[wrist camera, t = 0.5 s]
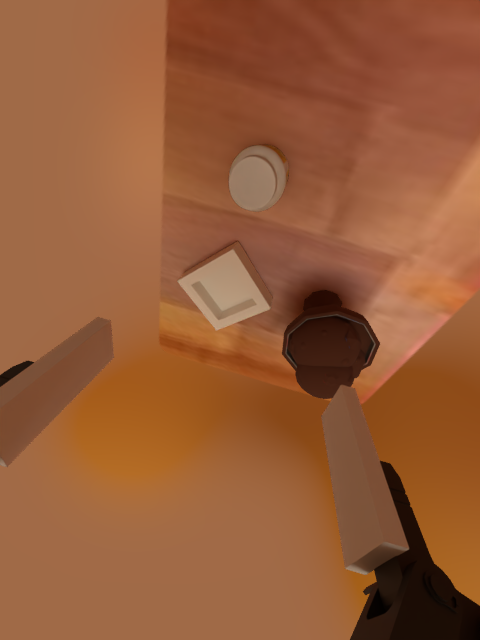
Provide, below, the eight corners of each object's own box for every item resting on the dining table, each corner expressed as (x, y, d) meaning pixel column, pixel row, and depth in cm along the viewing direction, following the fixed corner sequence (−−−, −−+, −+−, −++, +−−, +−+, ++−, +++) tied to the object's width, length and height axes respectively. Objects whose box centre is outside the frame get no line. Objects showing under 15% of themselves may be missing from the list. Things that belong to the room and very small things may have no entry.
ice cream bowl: (365, 328, 37) (395, 416, 25) (292, 337, 41) (289, 417, 29) (360, 265, 32) (396, 340, 20) (277, 283, 35) (266, 355, 24)
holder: (238, 240, 33) (233, 248, 30) (272, 297, 37) (270, 308, 35) (185, 271, 37) (177, 281, 35) (221, 319, 42) (216, 330, 39)
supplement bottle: (293, 189, 28) (291, 209, 20) (250, 204, 30) (233, 227, 22) (282, 134, 25) (274, 133, 18) (235, 155, 27) (210, 161, 20)
